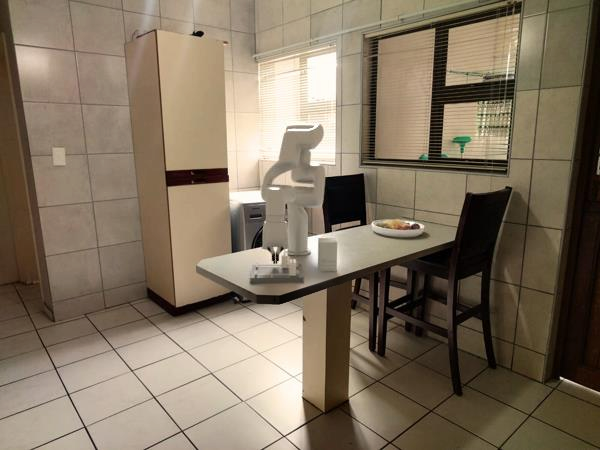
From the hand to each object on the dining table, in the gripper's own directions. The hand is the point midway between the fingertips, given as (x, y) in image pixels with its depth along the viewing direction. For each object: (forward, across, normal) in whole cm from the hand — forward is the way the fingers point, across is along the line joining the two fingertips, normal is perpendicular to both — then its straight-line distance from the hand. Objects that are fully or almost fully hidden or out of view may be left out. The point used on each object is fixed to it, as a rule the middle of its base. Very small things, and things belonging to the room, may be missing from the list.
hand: (275, 262), depth 163 cm
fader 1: (+1, -4, 0) cm, 4 cm away
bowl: (+4, -72, -69) cm, 100 cm away
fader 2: (+2, -7, +9) cm, 11 cm away
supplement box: (+4, -22, -3) cm, 22 cm away
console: (+4, -1, +4) cm, 6 cm away
